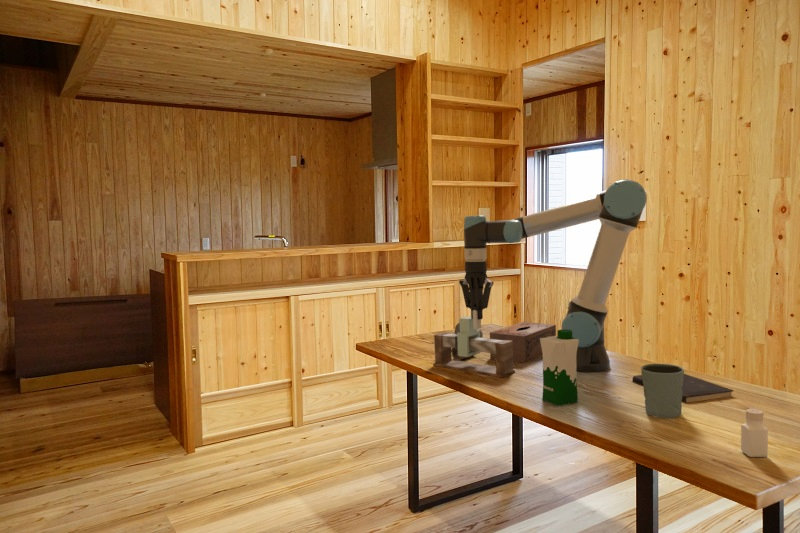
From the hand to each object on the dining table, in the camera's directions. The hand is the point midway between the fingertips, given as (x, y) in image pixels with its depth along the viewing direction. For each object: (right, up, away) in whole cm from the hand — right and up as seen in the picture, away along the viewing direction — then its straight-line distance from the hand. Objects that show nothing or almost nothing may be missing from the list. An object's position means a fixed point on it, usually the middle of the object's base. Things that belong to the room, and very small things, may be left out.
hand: (477, 328), depth 203 cm
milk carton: (+19, -17, -36) cm, 44 cm away
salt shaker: (+49, -19, -77) cm, 94 cm away
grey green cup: (+42, -17, -49) cm, 67 cm away
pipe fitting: (+3, -11, +50) cm, 51 cm away
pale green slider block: (-2, -9, +3) cm, 10 cm away
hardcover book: (+57, -16, -29) cm, 65 cm away
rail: (-1, -14, +3) cm, 15 cm away
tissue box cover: (+21, -13, +23) cm, 34 cm away
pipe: (-3, -13, +24) cm, 27 cm away
